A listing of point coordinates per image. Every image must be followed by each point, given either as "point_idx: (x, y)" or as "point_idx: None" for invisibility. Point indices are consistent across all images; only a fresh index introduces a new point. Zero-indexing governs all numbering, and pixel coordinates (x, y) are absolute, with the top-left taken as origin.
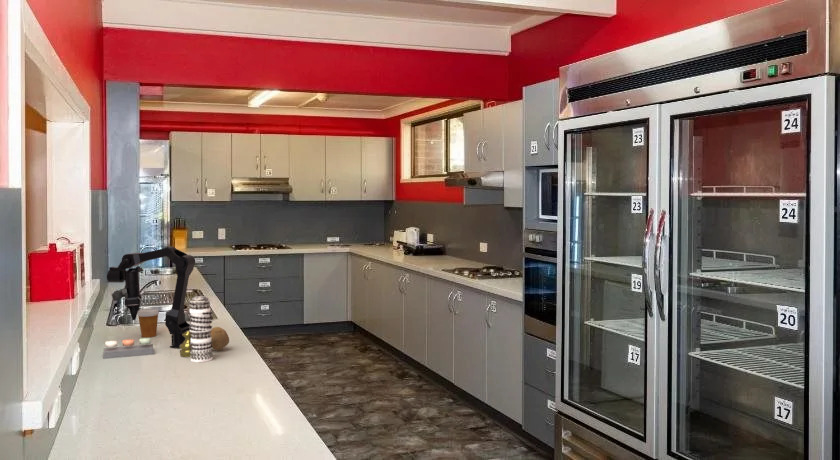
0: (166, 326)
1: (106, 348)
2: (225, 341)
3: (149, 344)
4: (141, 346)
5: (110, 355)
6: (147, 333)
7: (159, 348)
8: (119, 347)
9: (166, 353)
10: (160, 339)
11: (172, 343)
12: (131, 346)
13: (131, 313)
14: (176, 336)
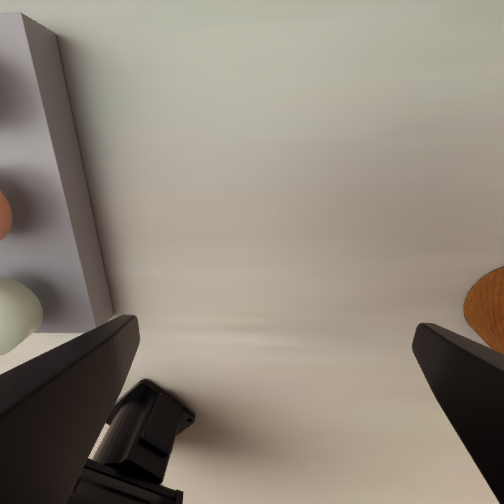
0: (76, 489)
1: (4, 37)
2: None
3: (88, 317)
4: (37, 277)
5: None
6: (484, 307)
7: (142, 339)
8: (29, 142)
9: (19, 362)
10: (372, 349)
11: (148, 402)
12: (48, 221)
13: (12, 385)
14: (93, 457)
